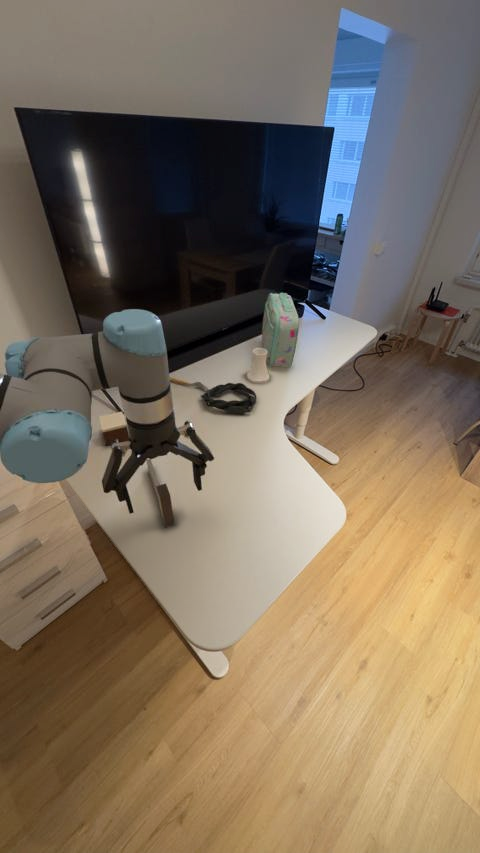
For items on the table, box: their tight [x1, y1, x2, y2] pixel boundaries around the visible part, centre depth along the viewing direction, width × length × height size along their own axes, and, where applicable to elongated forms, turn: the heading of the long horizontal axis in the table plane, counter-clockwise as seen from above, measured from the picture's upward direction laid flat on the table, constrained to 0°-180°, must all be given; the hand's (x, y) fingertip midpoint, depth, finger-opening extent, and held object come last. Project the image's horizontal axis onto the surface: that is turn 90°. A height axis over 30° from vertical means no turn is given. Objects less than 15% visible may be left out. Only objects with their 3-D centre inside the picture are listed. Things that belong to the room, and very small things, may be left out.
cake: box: [98, 411, 130, 447], centre depth 91 cm, size 6×6×6 cm
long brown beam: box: [146, 458, 175, 528], centre depth 74 cm, size 2×17×10 cm, turn 25°
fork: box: [169, 376, 208, 392], centre depth 112 cm, size 2×2×20 cm
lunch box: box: [260, 292, 300, 368], centre depth 124 cm, size 27×10×21 cm, turn 3°
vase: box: [246, 347, 270, 384], centre depth 115 cm, size 8×8×10 cm
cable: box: [200, 382, 257, 415], centre depth 105 cm, size 17×14×4 cm
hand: (165, 496), depth 68 cm, fingers open, 13 cm apart
